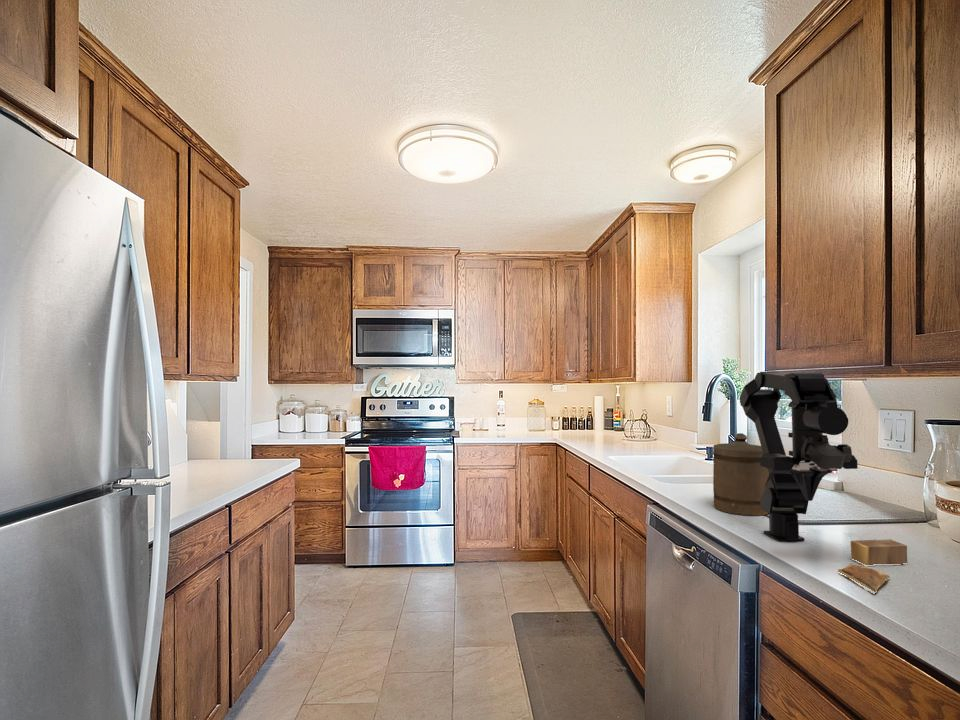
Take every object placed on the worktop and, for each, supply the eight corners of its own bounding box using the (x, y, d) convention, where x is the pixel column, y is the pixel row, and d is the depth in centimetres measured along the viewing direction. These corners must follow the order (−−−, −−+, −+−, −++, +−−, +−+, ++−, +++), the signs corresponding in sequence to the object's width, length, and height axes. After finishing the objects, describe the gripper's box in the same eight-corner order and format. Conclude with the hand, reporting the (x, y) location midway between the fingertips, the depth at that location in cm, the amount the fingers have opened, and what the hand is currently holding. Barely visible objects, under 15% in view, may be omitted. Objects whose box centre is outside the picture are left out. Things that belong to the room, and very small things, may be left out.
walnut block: (850, 540, 111) (890, 539, 111) (851, 559, 111) (890, 558, 111) (865, 547, 107) (906, 545, 107) (866, 566, 107) (907, 565, 107)
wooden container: (754, 502, 158) (752, 430, 158) (781, 516, 143) (779, 436, 143) (705, 502, 158) (704, 430, 158) (727, 516, 143) (726, 437, 144)
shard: (875, 598, 93) (874, 588, 93) (826, 585, 99) (826, 575, 99) (891, 582, 100) (891, 572, 100) (845, 570, 106) (845, 561, 106)
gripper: (790, 434, 105) (792, 511, 105) (877, 433, 106) (879, 509, 106) (757, 428, 116) (759, 498, 116) (837, 427, 117) (839, 495, 117)
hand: (808, 500), depth 113 cm, fingers closed
